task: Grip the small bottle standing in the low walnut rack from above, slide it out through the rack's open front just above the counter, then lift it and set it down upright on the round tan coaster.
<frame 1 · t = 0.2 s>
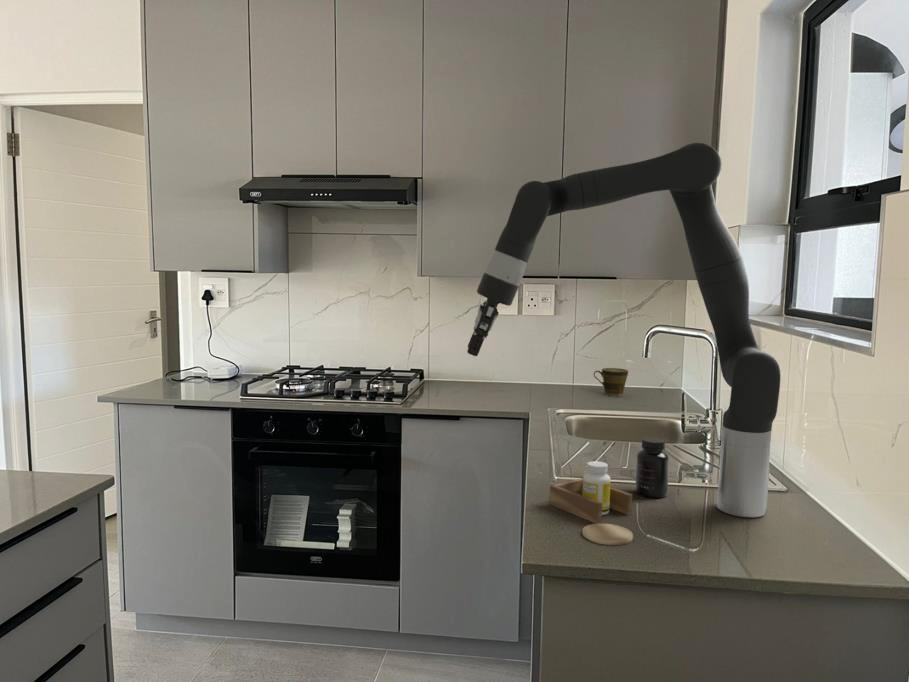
hand: (471, 352, 144), 31 cm above the worktop, tool tilted 20°, fingers open, 8 cm apart
ceramic cup: (609, 395, 273), on the worktop
coaster: (607, 535, 129), on the worktop
supplement bottle 2: (595, 512, 142), on the worktop
supplement bottle: (650, 494, 154), on the worktop
rack: (595, 511, 142), on the worktop
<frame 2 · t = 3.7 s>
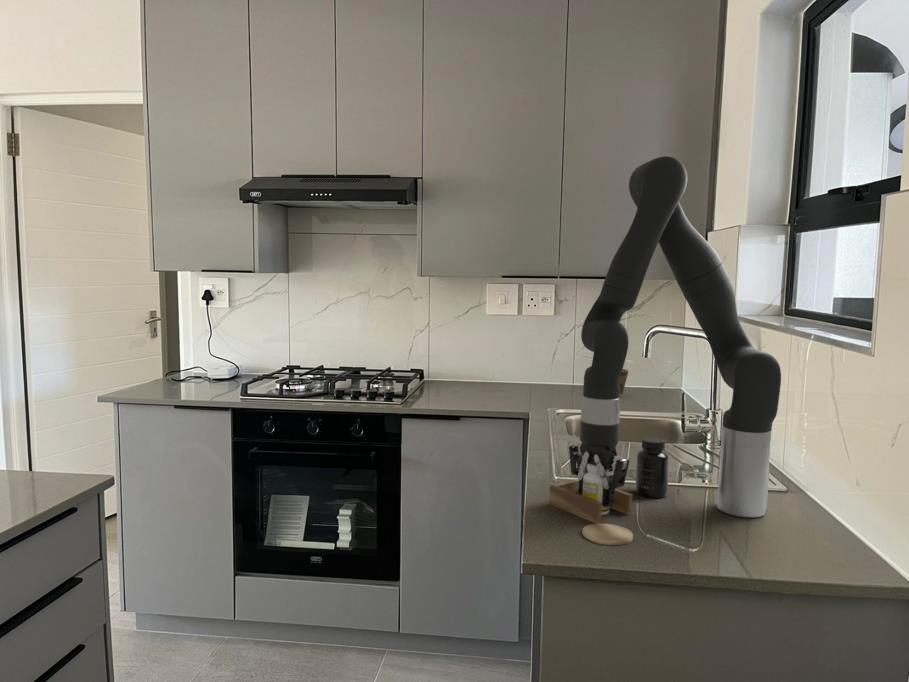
hand: (595, 501, 142), 2 cm above the worktop, tool pointing down, fingers closed on supplement bottle 2, 5 cm apart
supplement bottle 2: (595, 512, 142), on the worktop, touching gripper
everything else where it was.
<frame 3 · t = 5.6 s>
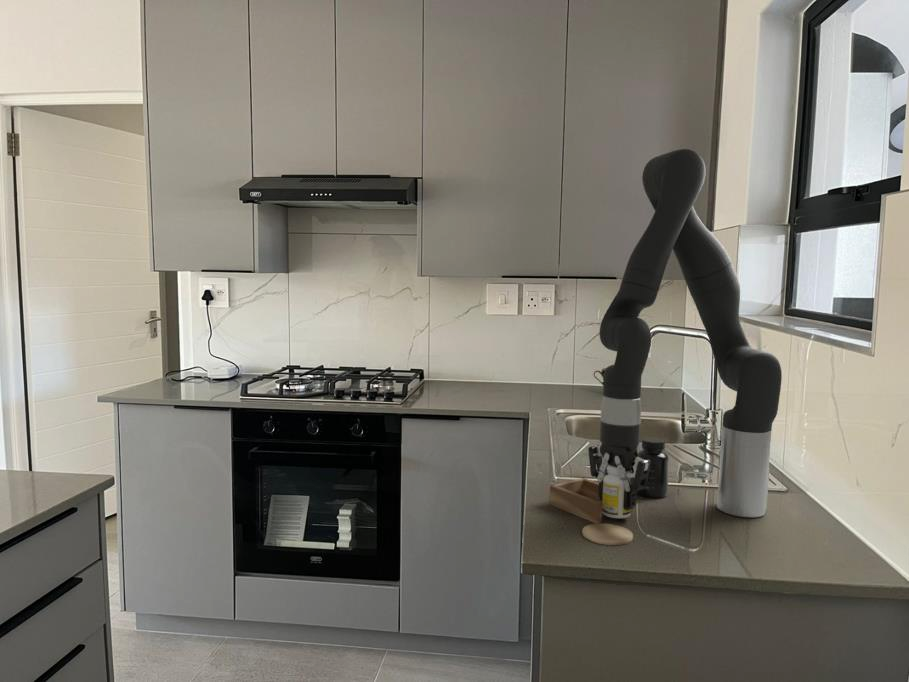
hand: (616, 504, 138), 3 cm above the worktop, tool pointing down, fingers closed on supplement bottle 2, 5 cm apart
supplement bottle 2: (615, 515, 138), point 1 cm above the worktop, touching gripper
everything else where it was.
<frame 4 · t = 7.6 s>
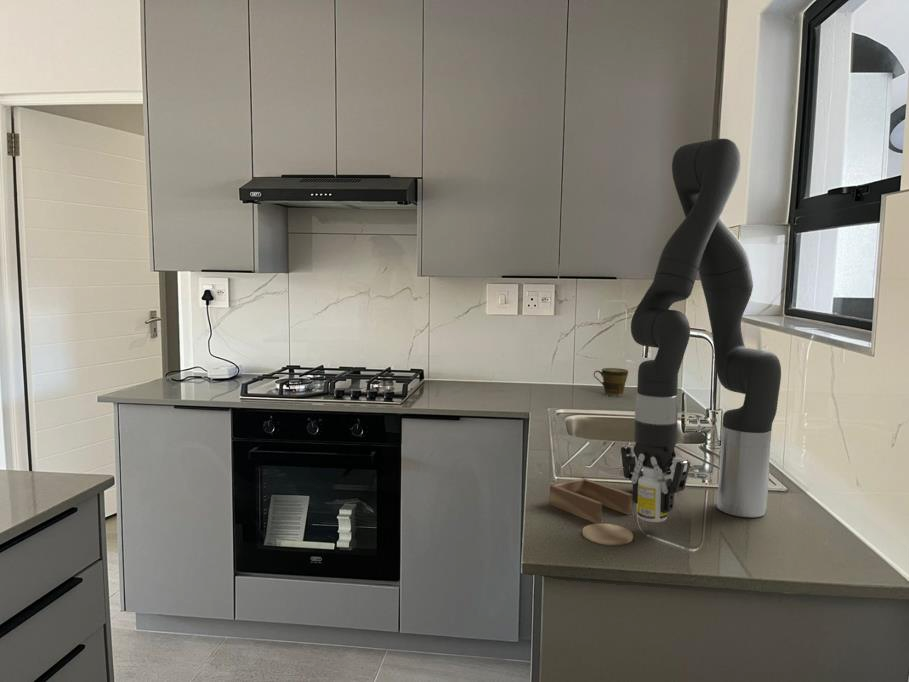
hand: (652, 506, 131), 5 cm above the worktop, tool pointing down, fingers closed on supplement bottle 2, 5 cm apart
supplement bottle 2: (651, 518, 132), point 2 cm above the worktop, touching gripper
everything else where it was.
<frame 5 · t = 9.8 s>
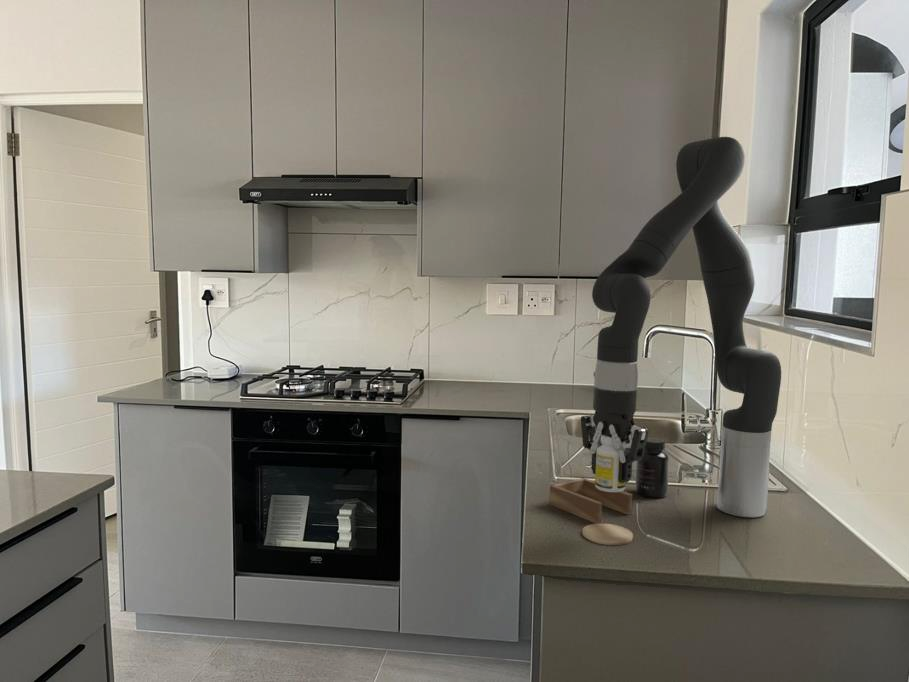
hand: (610, 477, 128), 11 cm above the worktop, tool pointing down, fingers closed on supplement bottle 2, 5 cm apart
supplement bottle 2: (609, 489, 128), point 9 cm above the worktop, touching gripper
everything else where it was.
when the fingers open (3 cm above the worktop, at t = 11.5 s): supplement bottle 2 stays where it is, resting on coaster.
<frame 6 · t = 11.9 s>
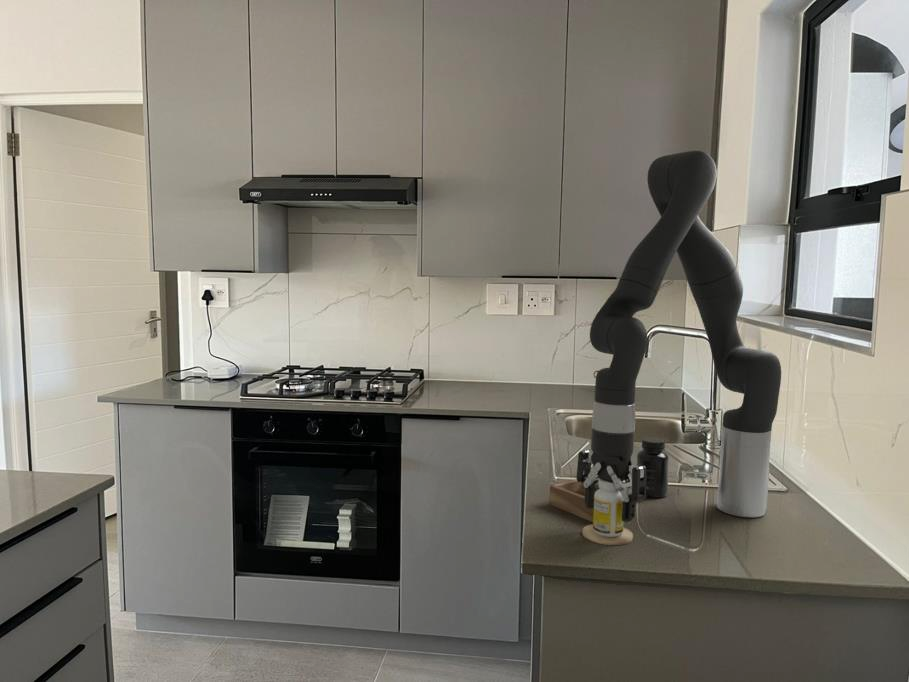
hand: (608, 514, 129), 4 cm above the worktop, tool pointing down, fingers open, 8 cm apart
supplement bottle 2: (607, 533, 129), resting on coaster
everything else where it was.
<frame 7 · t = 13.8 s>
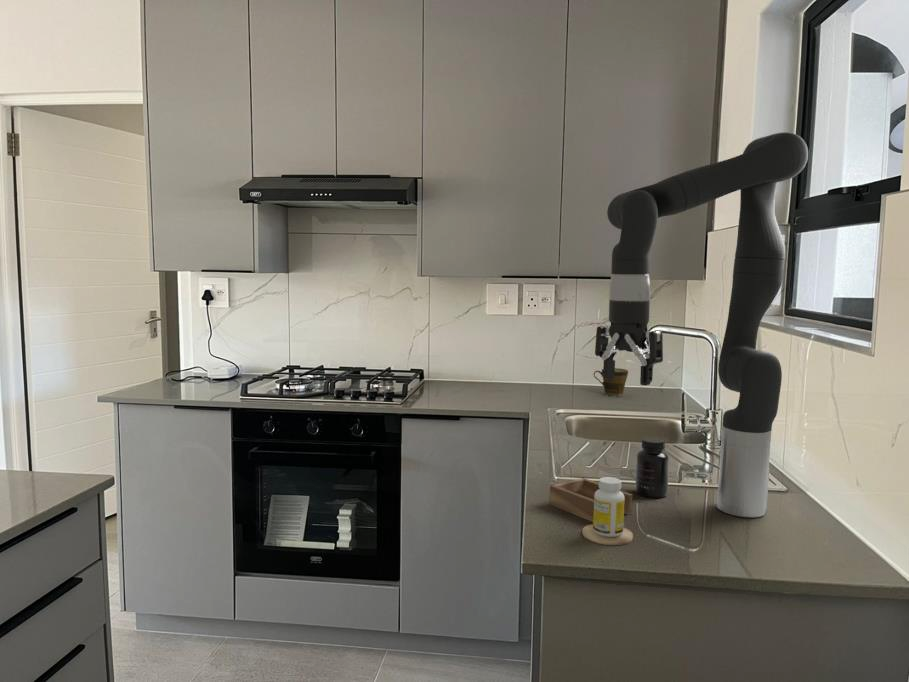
hand: (626, 381, 137), 27 cm above the worktop, tool pointing down, fingers open, 8 cm apart
nothing on the worktop moved.
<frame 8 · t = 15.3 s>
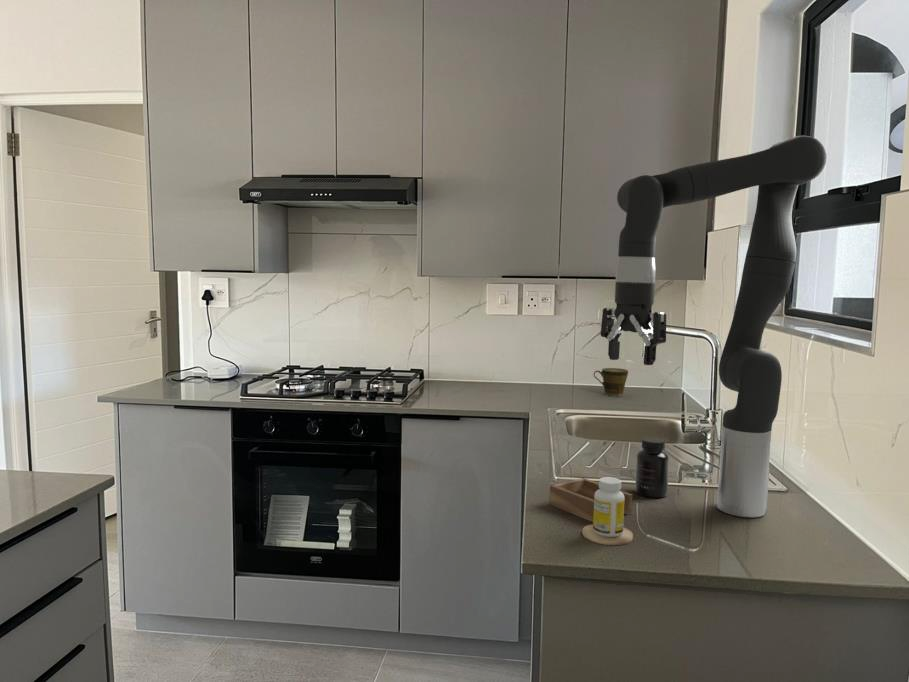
hand: (630, 362, 141), 30 cm above the worktop, tool pointing down, fingers open, 8 cm apart
nothing on the worktop moved.
at the end: supplement bottle 2 0.1 cm from the coaster (horizontally); supplement bottle 2 tilted 0°; the gripper is holding nothing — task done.
